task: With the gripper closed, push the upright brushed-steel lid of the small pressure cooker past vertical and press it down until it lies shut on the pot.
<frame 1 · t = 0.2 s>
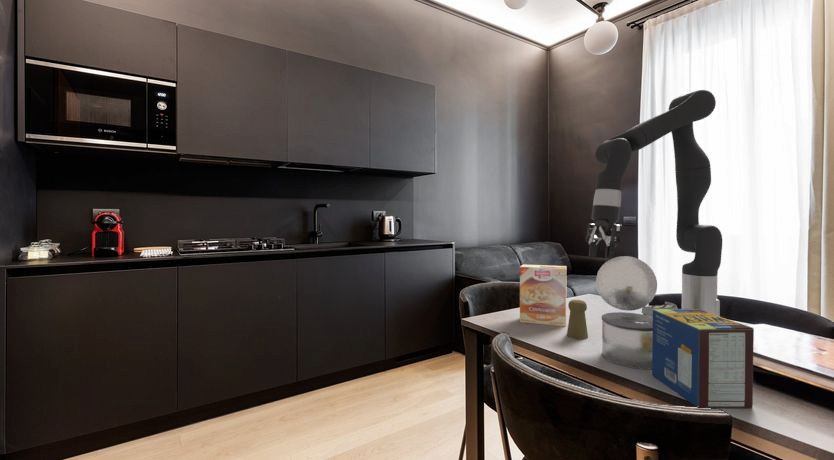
hand: (600, 257, 117), 24 cm above the table, tool pointing down, fingers open, 8 cm apart
cooker pot: (632, 357, 98), on the table
protein box: (697, 391, 80), on the table
coffeecake box: (543, 322, 132), on the table
cooker lid: (625, 283, 107), point 18 cm above the table, hinge at 100.0°
food container: (664, 340, 112), on the table
cork: (577, 336, 116), on the table
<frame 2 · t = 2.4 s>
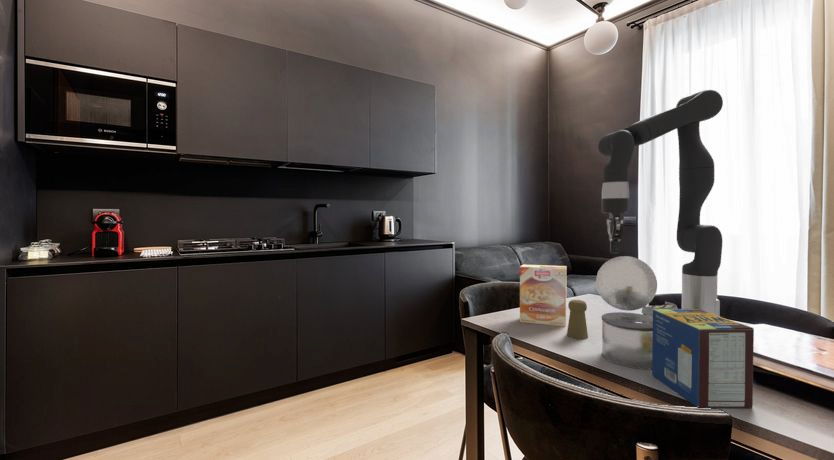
hand: (614, 253, 118), 25 cm above the table, tool pointing down, fingers closed
nothing on the table moved.
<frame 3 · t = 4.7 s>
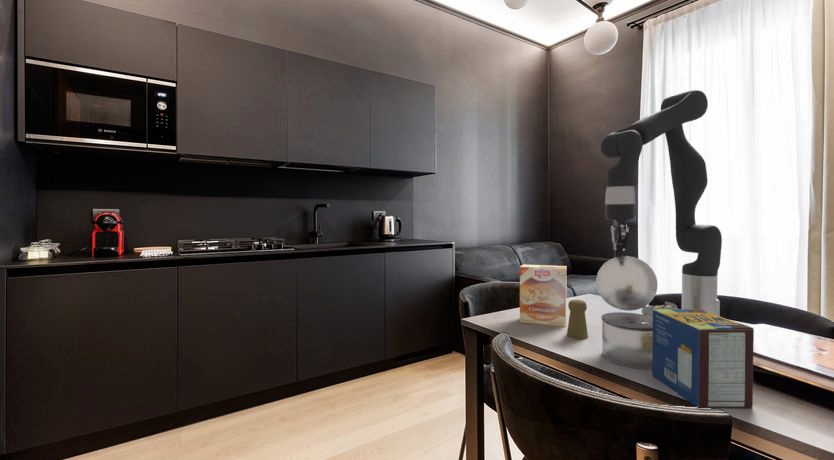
hand: (619, 263, 109), 23 cm above the table, tool pointing down, fingers closed
cooker lid: (625, 282, 107), point 18 cm above the table, hinge at 97.6°, touching gripper
everything else where it was.
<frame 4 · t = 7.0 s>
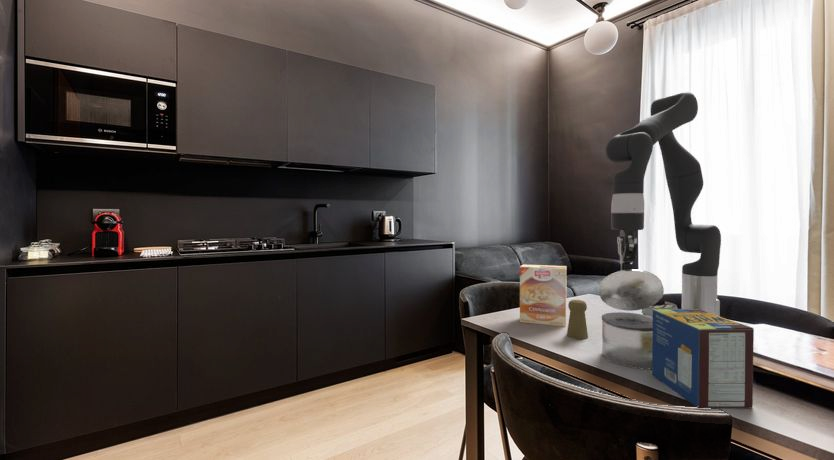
hand: (626, 277, 100), 20 cm above the table, tool pointing down, fingers closed
cooker lid: (629, 288, 101), point 17 cm above the table, hinge at 53.0°, touching gripper
everything else where it was.
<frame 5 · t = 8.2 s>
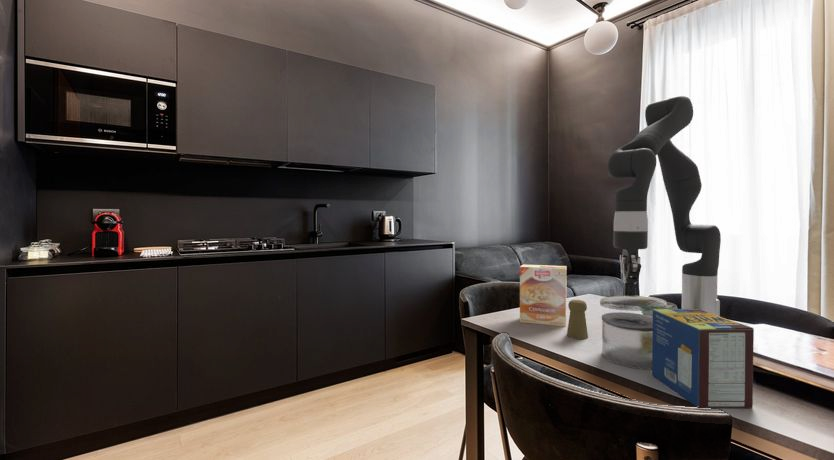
hand: (629, 297, 96), 16 cm above the table, tool pointing down, fingers closed
cooker lid: (632, 300, 99), point 15 cm above the table, hinge at 23.3°, touching gripper
everything else where it was.
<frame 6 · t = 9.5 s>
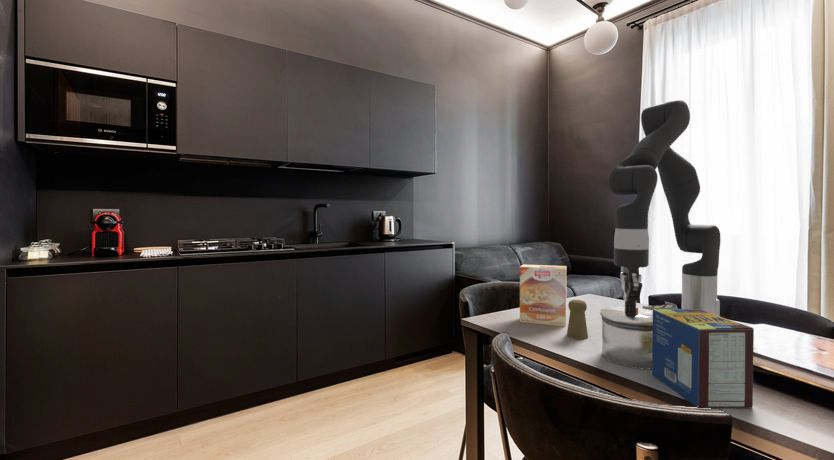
hand: (630, 315, 95), 12 cm above the table, tool pointing down, fingers closed
cooker lid: (632, 312, 98), point 12 cm above the table, hinge at 0.6°, touching gripper
everything else where it was.
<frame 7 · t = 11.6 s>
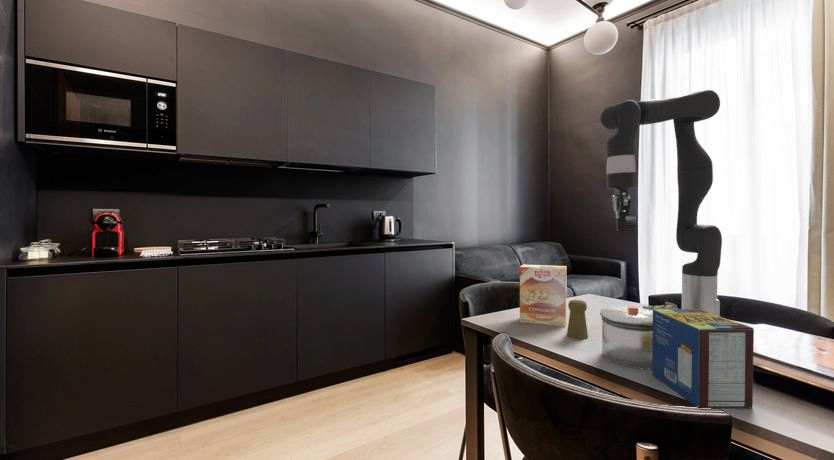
hand: (621, 231, 112), 32 cm above the table, tool pointing down, fingers closed
cooker lid: (632, 312, 98), point 12 cm above the table, hinge at 0.5°
everything else where it was.
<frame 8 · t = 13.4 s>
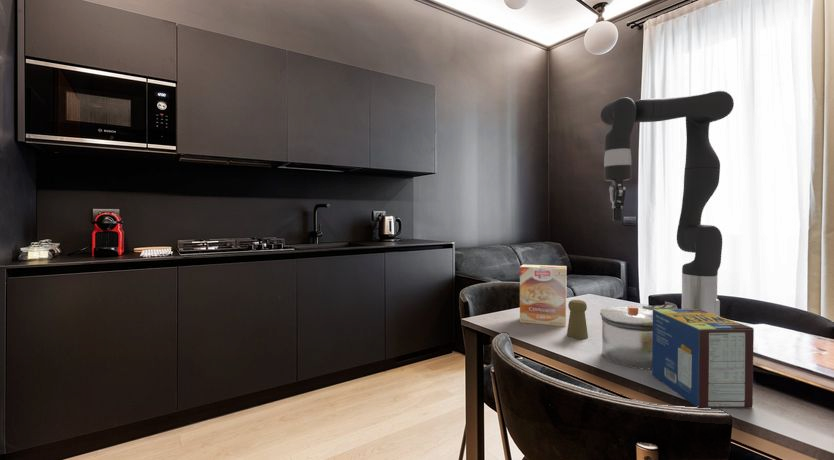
hand: (616, 220, 119), 35 cm above the table, tool pointing down, fingers closed
nothing on the table moved.
at the end: cooker lid at +0° (first picture: +100°); cork moved 0.2 cm from its start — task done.
